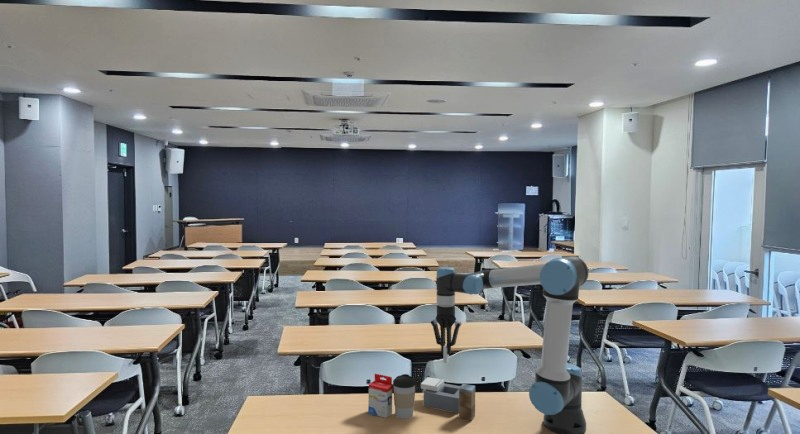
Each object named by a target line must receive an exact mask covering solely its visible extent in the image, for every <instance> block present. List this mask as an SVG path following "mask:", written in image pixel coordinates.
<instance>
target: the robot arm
mask: <svg viewBox="0 0 800 434" xmlns="http://www.w3.org/2000/svg"><path fill="white" fill-rule="evenodd" d="M587 265H588V264H587V263H586V262H585V261H584V260H583V259H582V258H581V257H577V256H575V255H567V256H562V257H556V258H553V259H550V260H549V261H547V262H546V263H540V264H533V265H531V264H530V265H523V266H514V267H513V266H512V267H505V268H495V269H483V270H480V271H476V272H469V273H466V274H465V273H457V272H456V271H455V269H456V268H454V267H451V266H450V267H449V266H442V267H438V268H437V269H436V277H435V280H436V304H437V305H436V316H435V319H432V320H430V324H431V326H432V328H433V332H434V337H435V342H436V344H437V345H440V348H441V349H440V350H441V351H440V352H441V355H443V358H442V359H443V360H442V361H443V364H447V363H449V361H450V355H451V354H452V347H453V346H455V345H456V343H457V339H458V333H459V331H460V327H461V326H462V322H459V321H458V320H457V317H456V306H455V304H456V293H460V294H467V295H479V294H480V293H481V292H482V290H489V289H496V288H497V289H498V288H508V287H519V286H520V287H521V286H522V287H523V286H534V285H541V286H542V296H543V297H544V298H545V300H546V306H545V315H544V317H545V318H544V327H543V335H542V336H543V338H542V350H541V358H540V359H541V361H540V365H539V366H538V367H536V369H535V376H534V383H532V384H531V386H530V388H529V390H528V391H529V392H528V397H529V400H530V402H531V404H532V405H533V406H534V408H535V409H536V410H537V411H538V412H539V413H542V414H543V425H544V426H545V428H547V429H548V430H550V431H552V432H553V433H557V434H584V433H586V431H587V421H586V418H585V414H584V411H583V408H582V401H583V400H582V398H583V395H582V391H583V389H582V388H583V371H582V369H581V368H580V366H578V365H575V364H571V363H569V362H568V358H569V347H570V336H571V329H572V319H573V318H572V316H573V307H574V303H576V302H577V301H578V300H579V295H580V287H582V286H583V285H584V284H585V283H586V281H587V280H588V278H589V267H588V266H587ZM438 325H439V326H440V327H439V326H438ZM453 325H454V329H453V333H452V327H453ZM439 328H440V329H439ZM452 334H453V335H452Z"/></svg>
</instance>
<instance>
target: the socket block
mask: <svg viewBox="0 0 800 434" xmlns="http://www.w3.org/2000/svg"><path fill="white" fill-rule="evenodd" d="M461 386H462V385H456V384H449V383H445V382H444V385H443V386H442V387H441V388H440V389H439V391H438V392H437V391H432V390H427V389H424V391H423V407H425V408H431V409H436V410H440V411H444V410H445V412H449V411H450V413H454V412H455V413H454V414H459V388H460V387H461Z"/></svg>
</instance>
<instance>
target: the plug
mask: <svg viewBox="0 0 800 434" xmlns="http://www.w3.org/2000/svg"><path fill="white" fill-rule="evenodd" d="M460 386H461V387H460V388H459V413H458V419H459V420H461V421H466V422H473V420H474V419H475V417H476V385H472V384H466V383H462V384H461V385H460Z"/></svg>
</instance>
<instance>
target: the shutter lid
mask: <svg viewBox="0 0 800 434" xmlns="http://www.w3.org/2000/svg"><path fill="white" fill-rule="evenodd" d="M444 383H445V379H442V378H441V379H440V378H434V377H430V376H429V377H428V376H427V377H426V378H425V379H424V380H423V381H422V382H421V383H420V389H422V390H426V389H427V390H432V391H437V392H438V391H439V389H440V388H441V387H442V386H443V385H444Z"/></svg>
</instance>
